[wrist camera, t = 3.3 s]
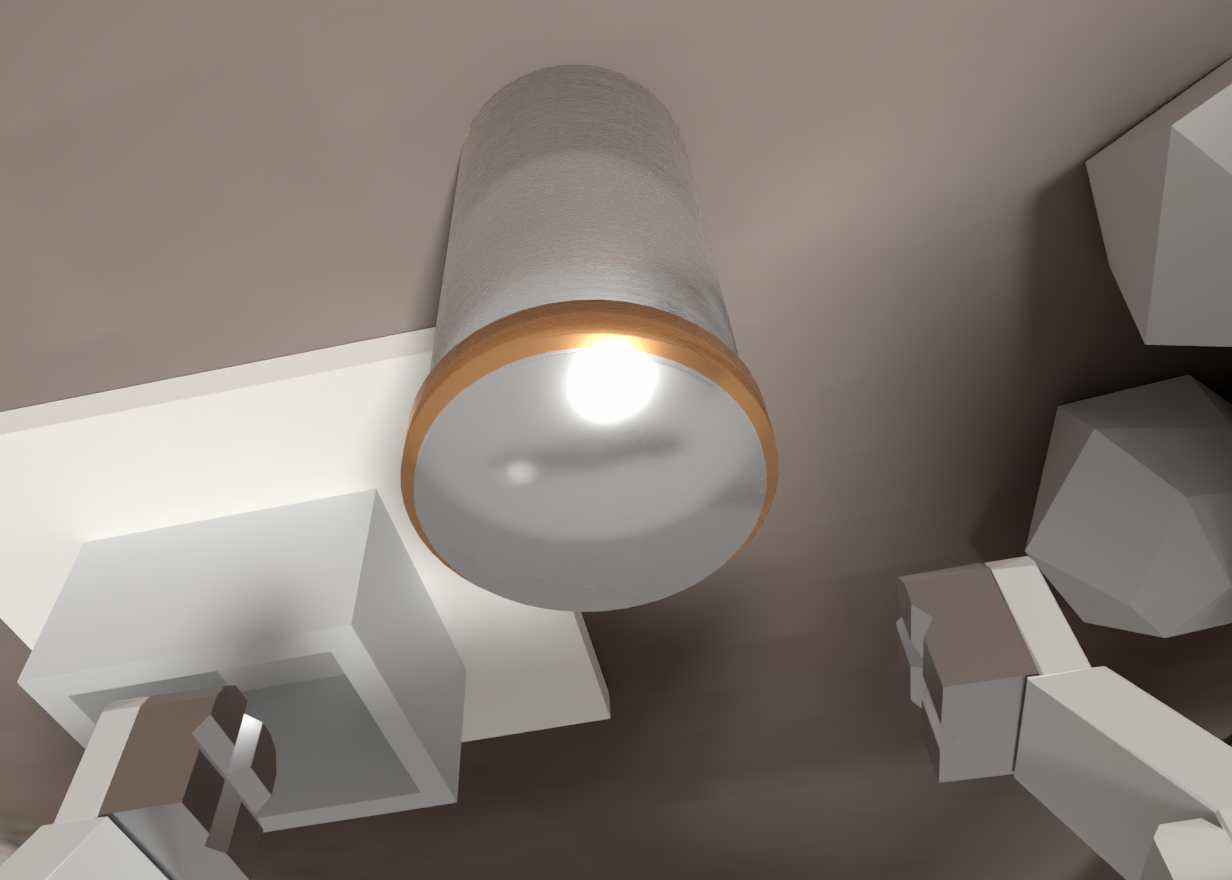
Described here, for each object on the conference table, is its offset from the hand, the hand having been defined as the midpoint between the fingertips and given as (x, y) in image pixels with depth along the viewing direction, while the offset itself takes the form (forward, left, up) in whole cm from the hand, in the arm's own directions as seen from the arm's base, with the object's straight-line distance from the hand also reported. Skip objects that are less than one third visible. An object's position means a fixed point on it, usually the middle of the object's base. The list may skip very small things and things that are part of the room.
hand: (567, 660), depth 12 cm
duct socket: (+11, -11, -13) cm, 20 cm away
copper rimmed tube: (0, 0, -13) cm, 13 cm away
